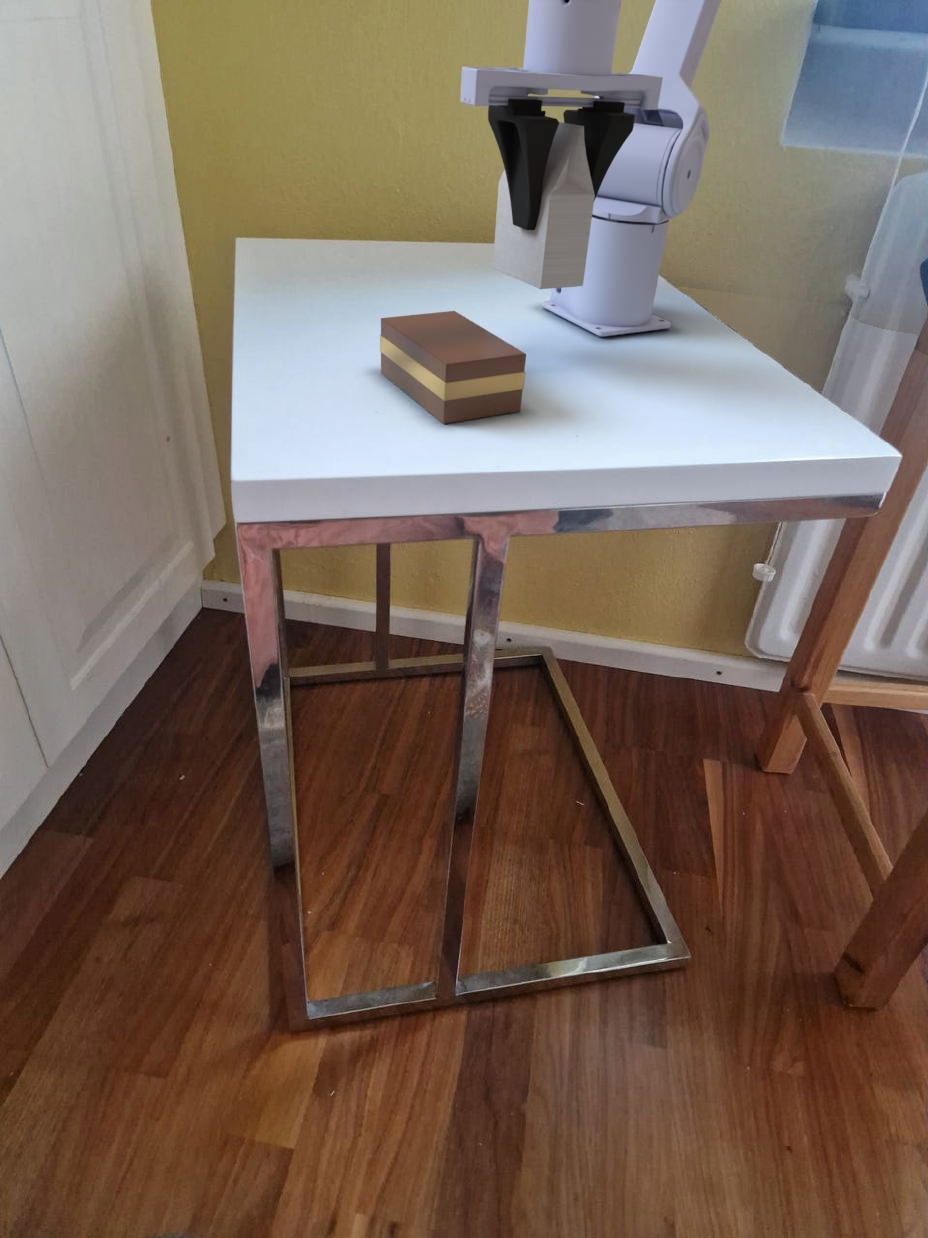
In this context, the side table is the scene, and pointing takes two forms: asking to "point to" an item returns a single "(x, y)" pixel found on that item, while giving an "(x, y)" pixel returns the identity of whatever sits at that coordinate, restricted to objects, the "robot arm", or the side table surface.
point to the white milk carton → (550, 220)
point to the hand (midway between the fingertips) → (549, 225)
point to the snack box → (452, 366)
